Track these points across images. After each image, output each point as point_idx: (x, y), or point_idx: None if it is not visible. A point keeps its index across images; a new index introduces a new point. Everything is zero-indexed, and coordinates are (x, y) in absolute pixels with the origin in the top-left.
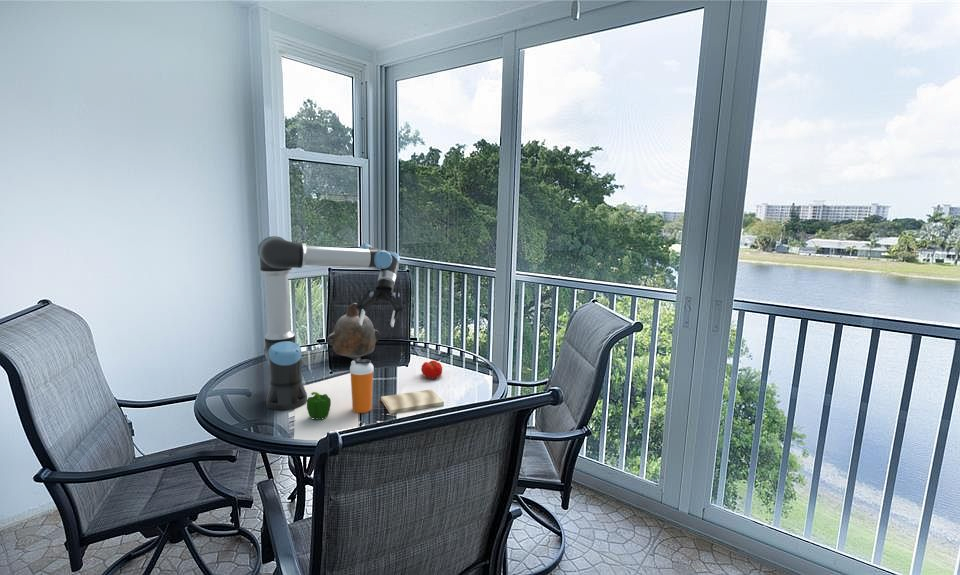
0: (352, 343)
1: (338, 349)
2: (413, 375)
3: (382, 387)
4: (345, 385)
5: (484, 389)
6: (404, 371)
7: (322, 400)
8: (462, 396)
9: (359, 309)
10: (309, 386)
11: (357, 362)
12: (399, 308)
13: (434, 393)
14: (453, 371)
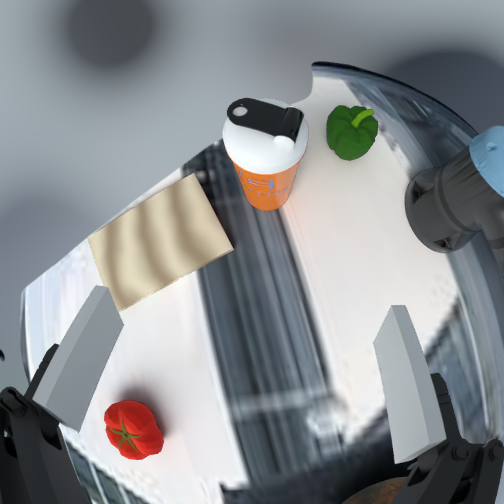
0: (391, 500)
1: None
2: (186, 429)
3: (252, 339)
4: (359, 337)
5: (34, 333)
6: (219, 455)
7: (339, 108)
8: (62, 293)
9: (463, 440)
10: (437, 310)
11: (281, 118)
12: (7, 423)
13: (106, 285)
14: (102, 445)
